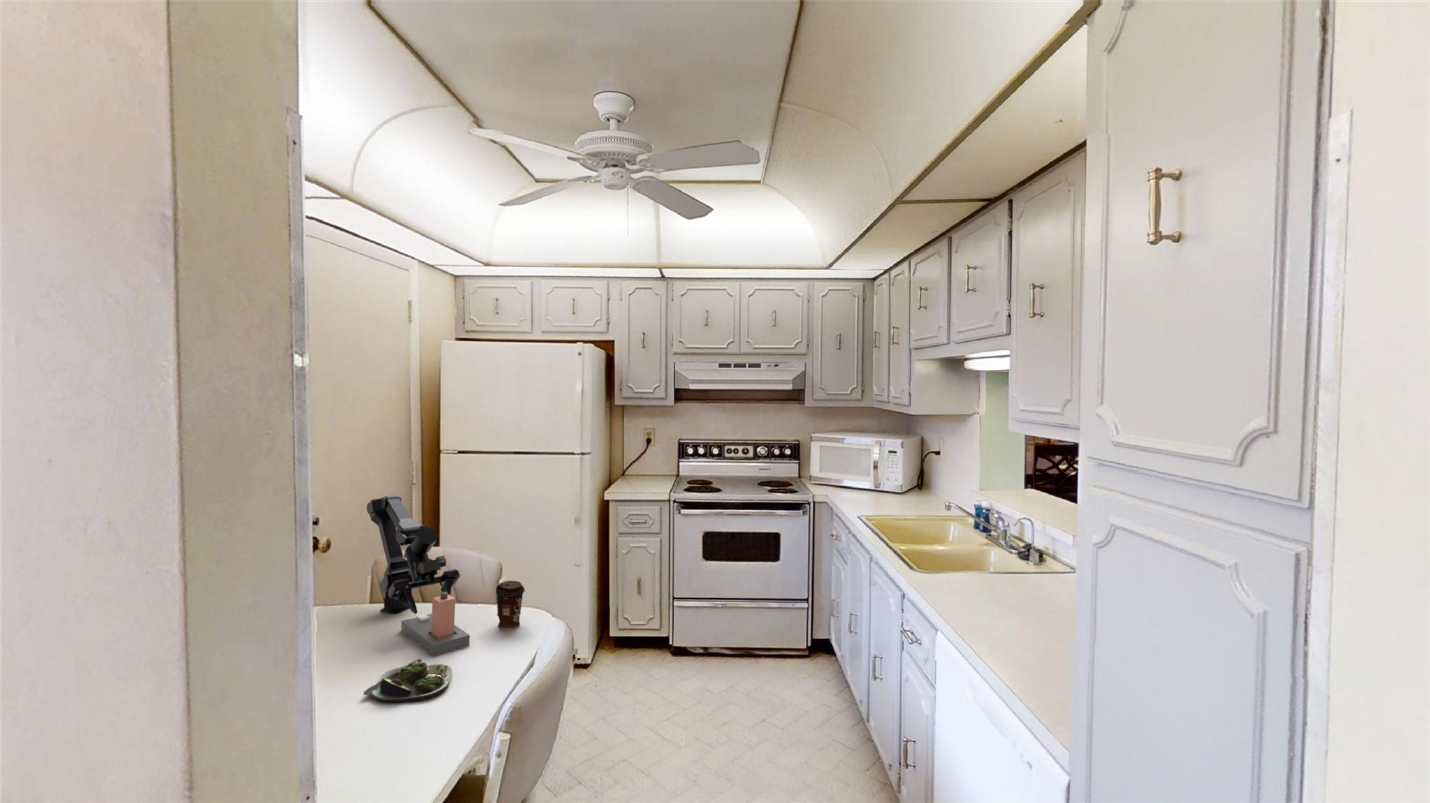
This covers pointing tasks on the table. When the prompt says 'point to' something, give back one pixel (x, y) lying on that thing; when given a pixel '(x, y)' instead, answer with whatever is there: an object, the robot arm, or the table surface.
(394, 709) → the table surface
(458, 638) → the grey slotted holder
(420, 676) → the salad plate
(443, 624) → the pink capped bottle
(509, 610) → the coffee cup
